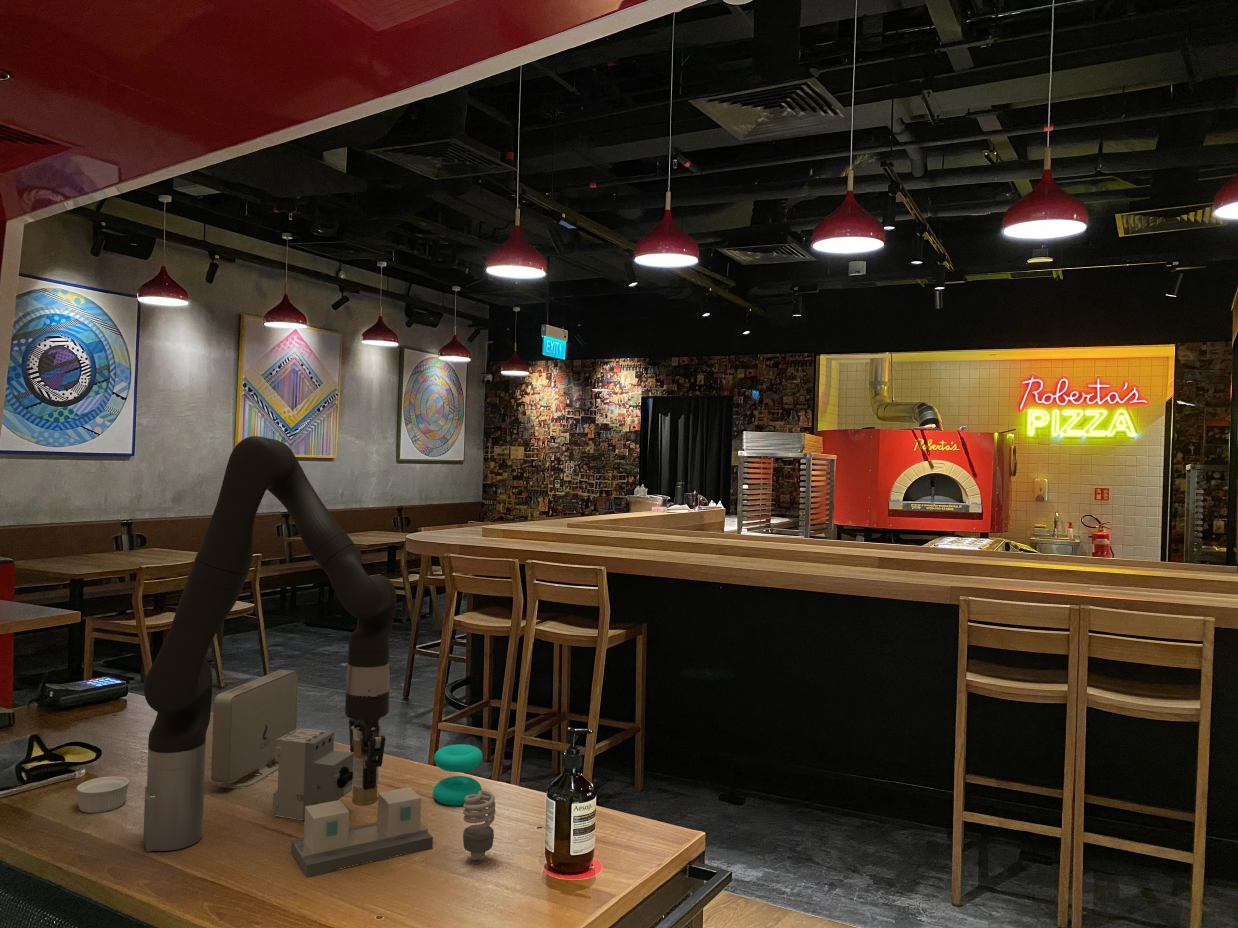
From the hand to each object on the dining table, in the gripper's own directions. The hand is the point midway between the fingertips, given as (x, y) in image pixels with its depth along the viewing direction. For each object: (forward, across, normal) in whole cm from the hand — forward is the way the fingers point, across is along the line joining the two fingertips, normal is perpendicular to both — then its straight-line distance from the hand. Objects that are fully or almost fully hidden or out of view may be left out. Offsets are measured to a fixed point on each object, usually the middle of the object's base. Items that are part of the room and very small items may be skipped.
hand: (364, 783), depth 152 cm
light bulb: (+12, +14, +16) cm, 24 cm away
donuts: (+12, -14, +24) cm, 30 cm away
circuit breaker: (+12, -20, -3) cm, 24 cm away
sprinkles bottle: (+3, 0, 0) cm, 3 cm away
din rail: (+10, 0, 0) cm, 10 cm away
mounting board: (+12, 0, 0) cm, 12 cm away
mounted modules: (+9, +1, 0) cm, 9 cm away
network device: (+12, -49, -9) cm, 51 cm away
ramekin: (+12, -44, -38) cm, 59 cm away
